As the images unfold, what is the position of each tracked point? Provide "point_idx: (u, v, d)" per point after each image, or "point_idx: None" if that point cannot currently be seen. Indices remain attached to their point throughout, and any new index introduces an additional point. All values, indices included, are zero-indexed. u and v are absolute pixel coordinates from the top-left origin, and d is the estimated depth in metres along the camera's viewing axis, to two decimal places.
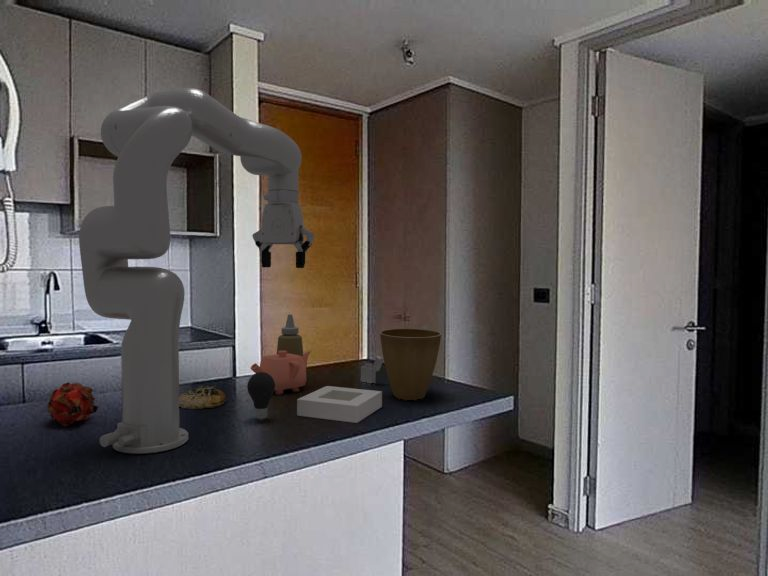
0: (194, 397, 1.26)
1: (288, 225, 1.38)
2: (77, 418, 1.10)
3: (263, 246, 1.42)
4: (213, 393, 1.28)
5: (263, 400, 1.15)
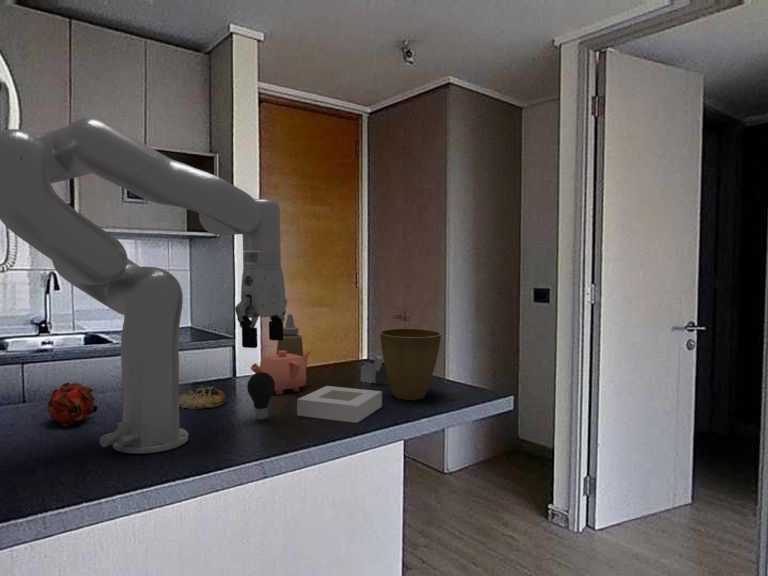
0: (194, 397, 1.26)
1: (282, 292, 1.17)
2: (77, 418, 1.10)
3: (255, 321, 1.11)
4: (213, 393, 1.28)
5: (263, 400, 1.15)
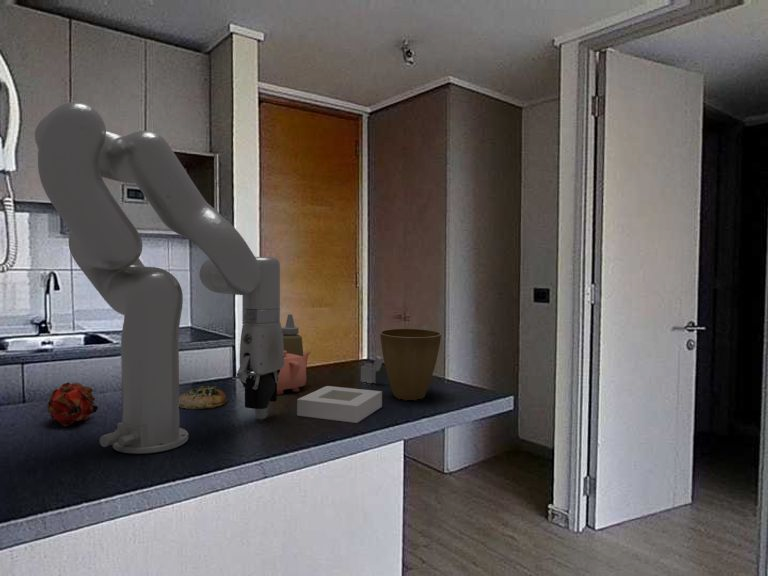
0: (195, 397, 1.25)
1: (280, 348, 1.18)
2: (77, 418, 1.10)
3: (257, 382, 1.13)
4: (214, 393, 1.28)
5: (263, 400, 1.15)
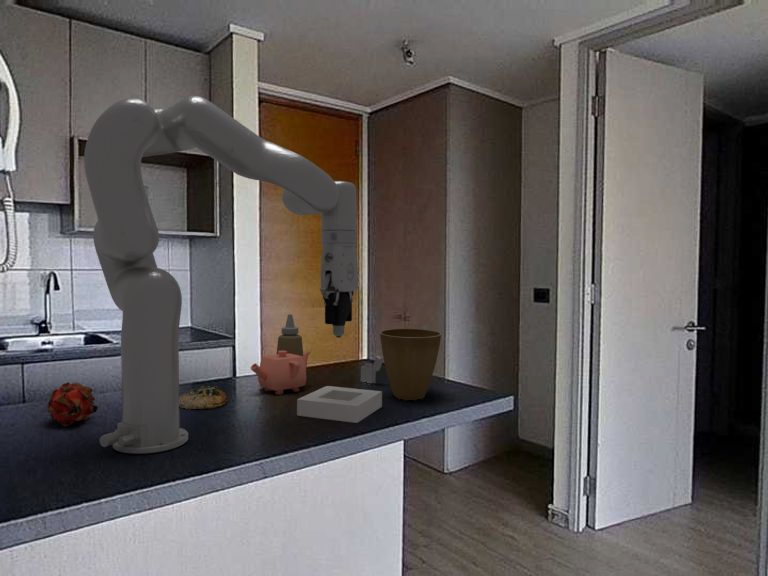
0: (195, 397, 1.25)
1: (355, 270, 1.25)
2: (77, 418, 1.10)
3: (337, 299, 1.20)
4: (214, 393, 1.28)
5: (341, 317, 1.22)
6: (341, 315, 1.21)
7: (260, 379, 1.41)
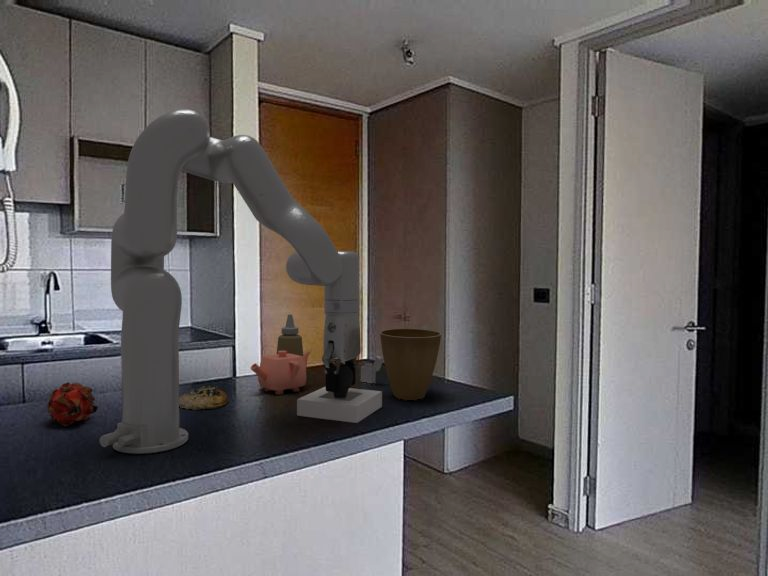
0: (196, 398, 1.25)
1: (358, 337, 1.26)
2: (77, 418, 1.10)
3: (338, 367, 1.20)
4: (215, 394, 1.28)
5: (343, 390, 1.23)
6: (343, 388, 1.22)
7: (260, 379, 1.41)
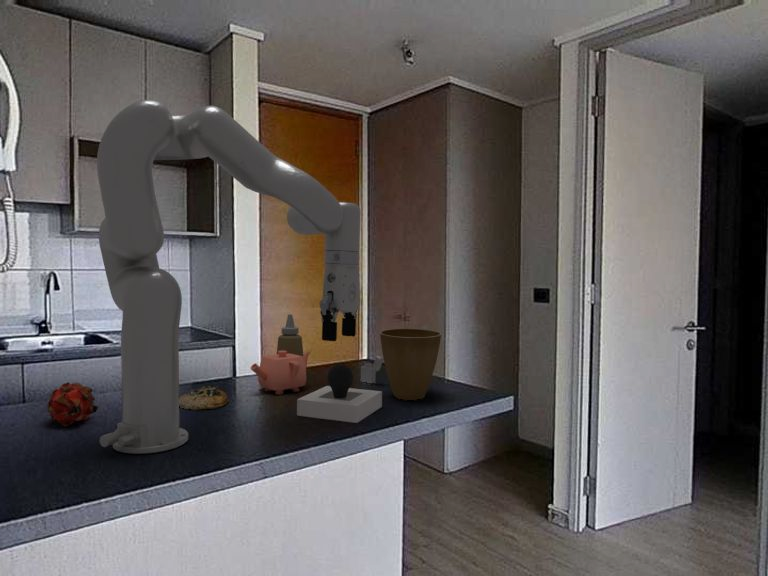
0: (196, 398, 1.25)
1: (357, 291, 1.25)
2: (77, 418, 1.10)
3: (335, 316, 1.18)
4: (215, 394, 1.28)
5: (343, 390, 1.23)
6: (343, 388, 1.22)
7: (260, 379, 1.41)
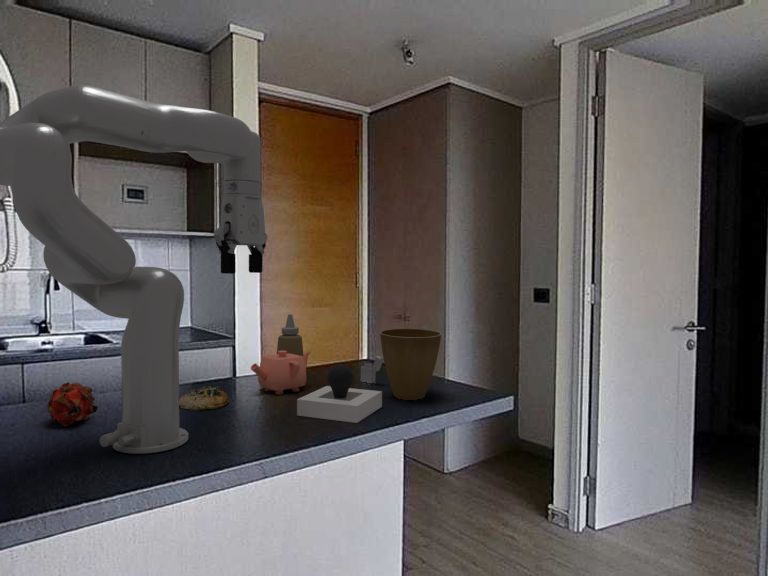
0: (196, 398, 1.25)
1: (261, 224, 1.21)
2: (77, 418, 1.10)
3: (233, 247, 1.14)
4: (215, 394, 1.27)
5: (343, 390, 1.23)
6: (343, 388, 1.22)
7: (260, 379, 1.41)
